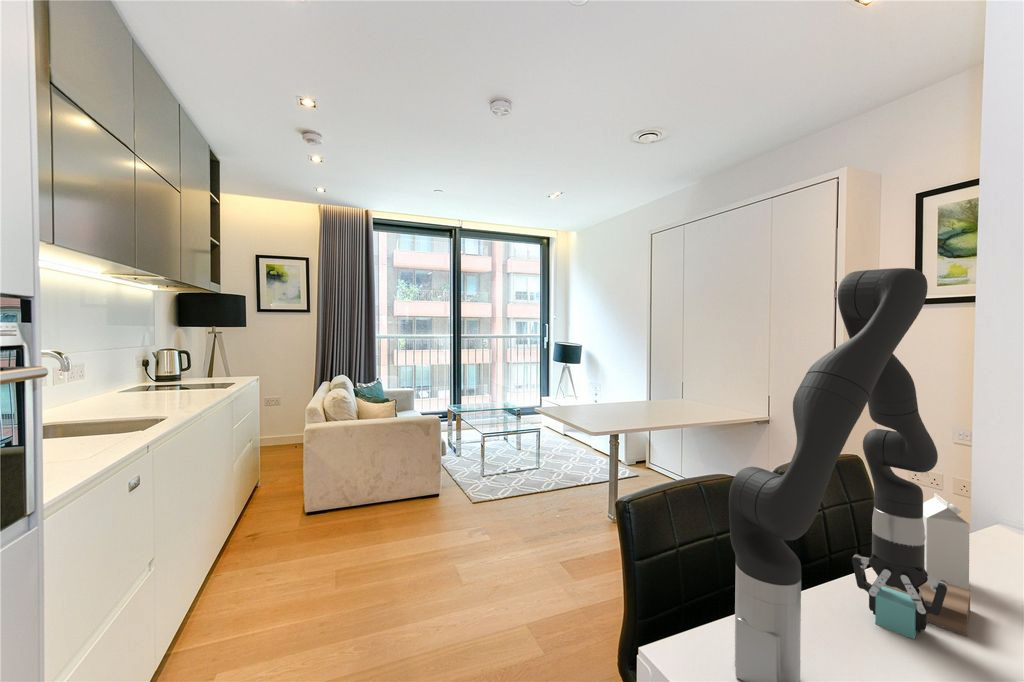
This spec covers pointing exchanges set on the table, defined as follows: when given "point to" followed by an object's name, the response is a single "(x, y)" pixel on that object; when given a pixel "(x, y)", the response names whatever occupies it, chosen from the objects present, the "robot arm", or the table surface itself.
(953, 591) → the walnut base
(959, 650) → the table surface
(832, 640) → the table surface
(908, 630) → the teal cube
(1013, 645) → the table surface
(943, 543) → the milk carton
